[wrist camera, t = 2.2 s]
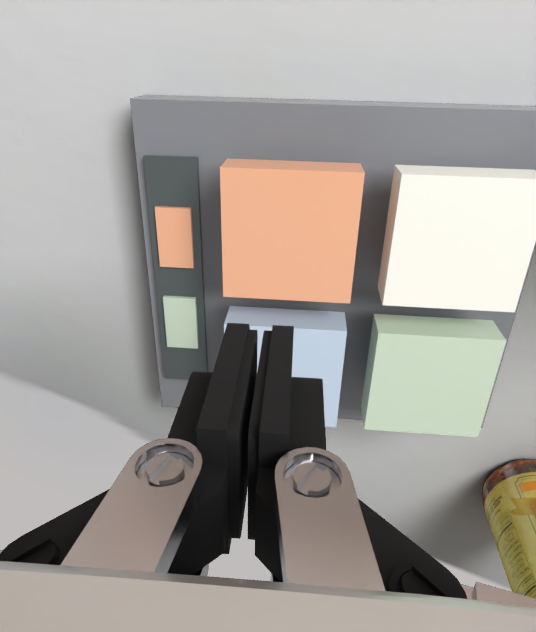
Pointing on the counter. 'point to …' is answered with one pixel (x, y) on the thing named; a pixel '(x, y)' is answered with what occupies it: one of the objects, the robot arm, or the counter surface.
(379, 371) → the sage key
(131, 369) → the counter surface
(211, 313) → the keypad
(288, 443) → the robot arm
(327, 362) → the blue key
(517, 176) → the cream key
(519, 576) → the sauce bottle
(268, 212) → the terracotta key
